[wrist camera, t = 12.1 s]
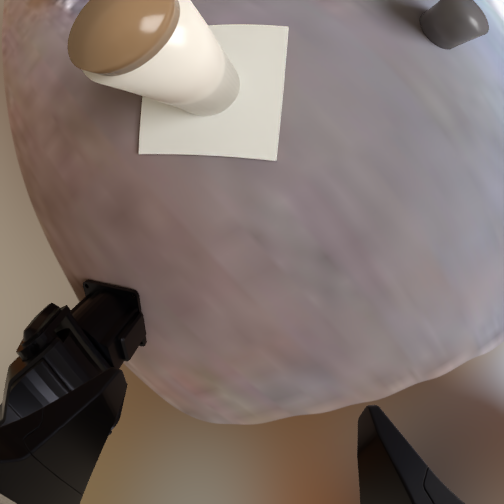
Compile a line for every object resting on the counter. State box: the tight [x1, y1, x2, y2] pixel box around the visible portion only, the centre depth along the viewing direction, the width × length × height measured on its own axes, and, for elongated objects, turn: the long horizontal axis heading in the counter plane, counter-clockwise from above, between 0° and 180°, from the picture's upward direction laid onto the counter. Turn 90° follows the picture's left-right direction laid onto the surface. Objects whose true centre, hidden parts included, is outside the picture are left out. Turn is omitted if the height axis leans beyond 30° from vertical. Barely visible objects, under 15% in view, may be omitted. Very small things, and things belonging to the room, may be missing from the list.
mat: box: [139, 24, 289, 161], centre depth 16 cm, size 10×10×1 cm
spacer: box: [420, 0, 489, 49], centre depth 9 cm, size 4×4×5 cm
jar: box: [68, 0, 240, 116], centre depth 10 cm, size 4×4×12 cm
